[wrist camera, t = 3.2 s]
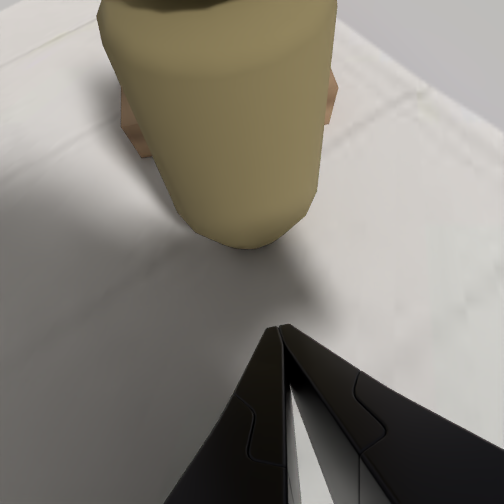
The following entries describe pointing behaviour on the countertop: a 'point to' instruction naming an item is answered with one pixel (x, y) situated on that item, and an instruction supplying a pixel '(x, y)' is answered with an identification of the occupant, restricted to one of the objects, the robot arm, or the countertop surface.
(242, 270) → the countertop surface
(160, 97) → the squeeze bottle
